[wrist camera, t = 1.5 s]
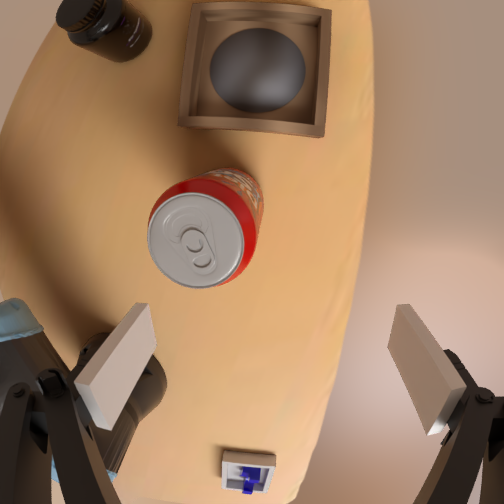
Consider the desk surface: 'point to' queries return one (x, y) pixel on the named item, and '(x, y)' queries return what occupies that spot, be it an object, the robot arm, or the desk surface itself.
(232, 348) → the desk surface
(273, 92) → the walnut box
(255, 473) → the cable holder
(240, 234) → the soda can
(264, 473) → the grey desk tray
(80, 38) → the supplement bottle
